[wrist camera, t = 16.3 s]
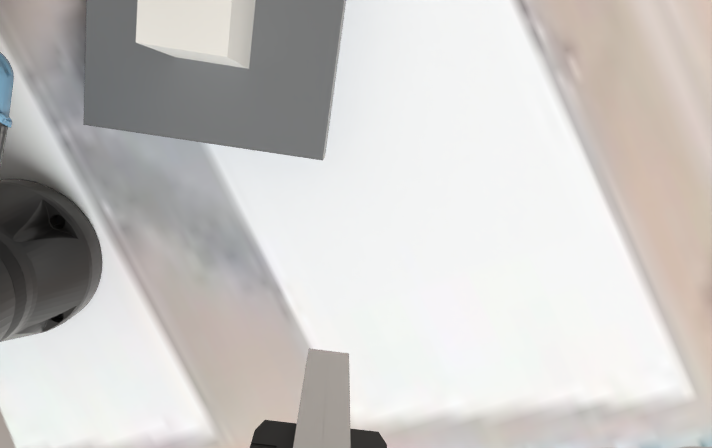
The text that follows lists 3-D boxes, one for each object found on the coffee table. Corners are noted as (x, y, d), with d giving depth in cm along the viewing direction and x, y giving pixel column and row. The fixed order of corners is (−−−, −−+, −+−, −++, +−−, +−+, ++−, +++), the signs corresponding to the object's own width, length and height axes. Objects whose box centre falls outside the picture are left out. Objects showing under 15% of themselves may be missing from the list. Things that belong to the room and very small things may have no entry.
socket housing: (112, 124, 43) (83, 124, 39) (121, -116, 39) (90, -149, 34) (325, 155, 45) (322, 160, 40) (356, -74, 40) (357, -101, 35)
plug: (187, 61, 41) (135, 42, 31) (195, -45, 39) (142, -104, 29) (256, 72, 41) (227, 57, 31) (266, -33, 39) (239, -87, 29)
